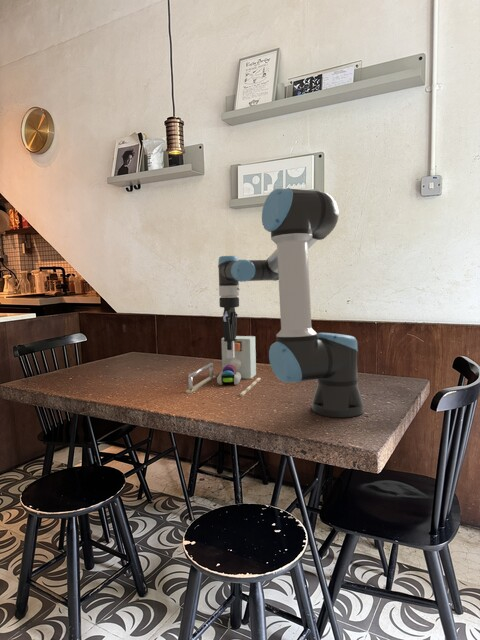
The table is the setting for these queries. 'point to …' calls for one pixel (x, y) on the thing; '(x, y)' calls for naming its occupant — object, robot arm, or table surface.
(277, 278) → the robot arm
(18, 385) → the table surface
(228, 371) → the rainbow petal baby toy
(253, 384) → the cream square stick
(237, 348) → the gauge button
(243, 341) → the cabinet
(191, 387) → the handrail
